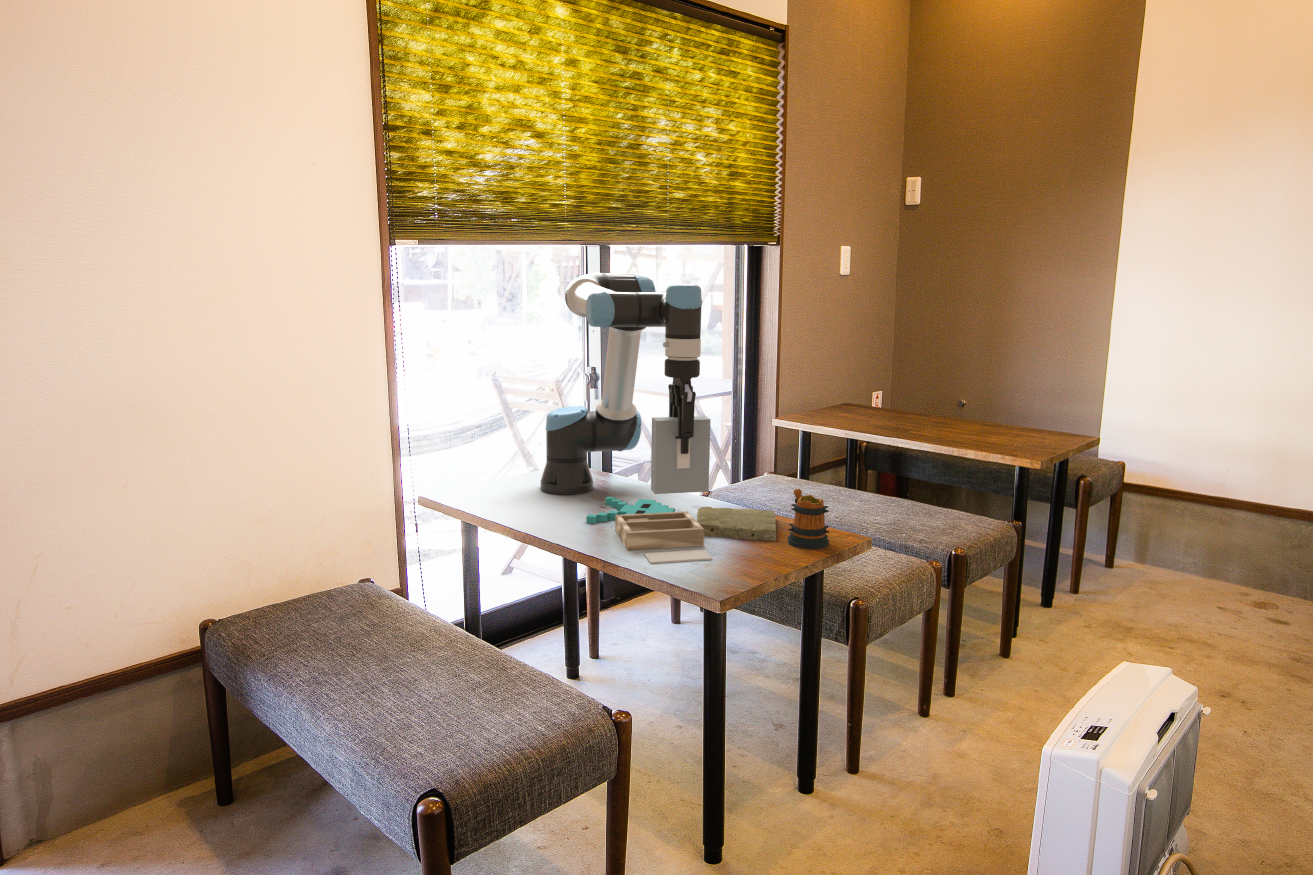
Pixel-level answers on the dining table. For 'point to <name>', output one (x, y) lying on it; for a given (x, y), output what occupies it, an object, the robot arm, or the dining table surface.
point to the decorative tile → (738, 523)
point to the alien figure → (628, 509)
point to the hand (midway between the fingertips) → (680, 465)
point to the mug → (808, 523)
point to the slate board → (665, 457)
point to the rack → (659, 530)
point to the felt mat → (677, 556)
